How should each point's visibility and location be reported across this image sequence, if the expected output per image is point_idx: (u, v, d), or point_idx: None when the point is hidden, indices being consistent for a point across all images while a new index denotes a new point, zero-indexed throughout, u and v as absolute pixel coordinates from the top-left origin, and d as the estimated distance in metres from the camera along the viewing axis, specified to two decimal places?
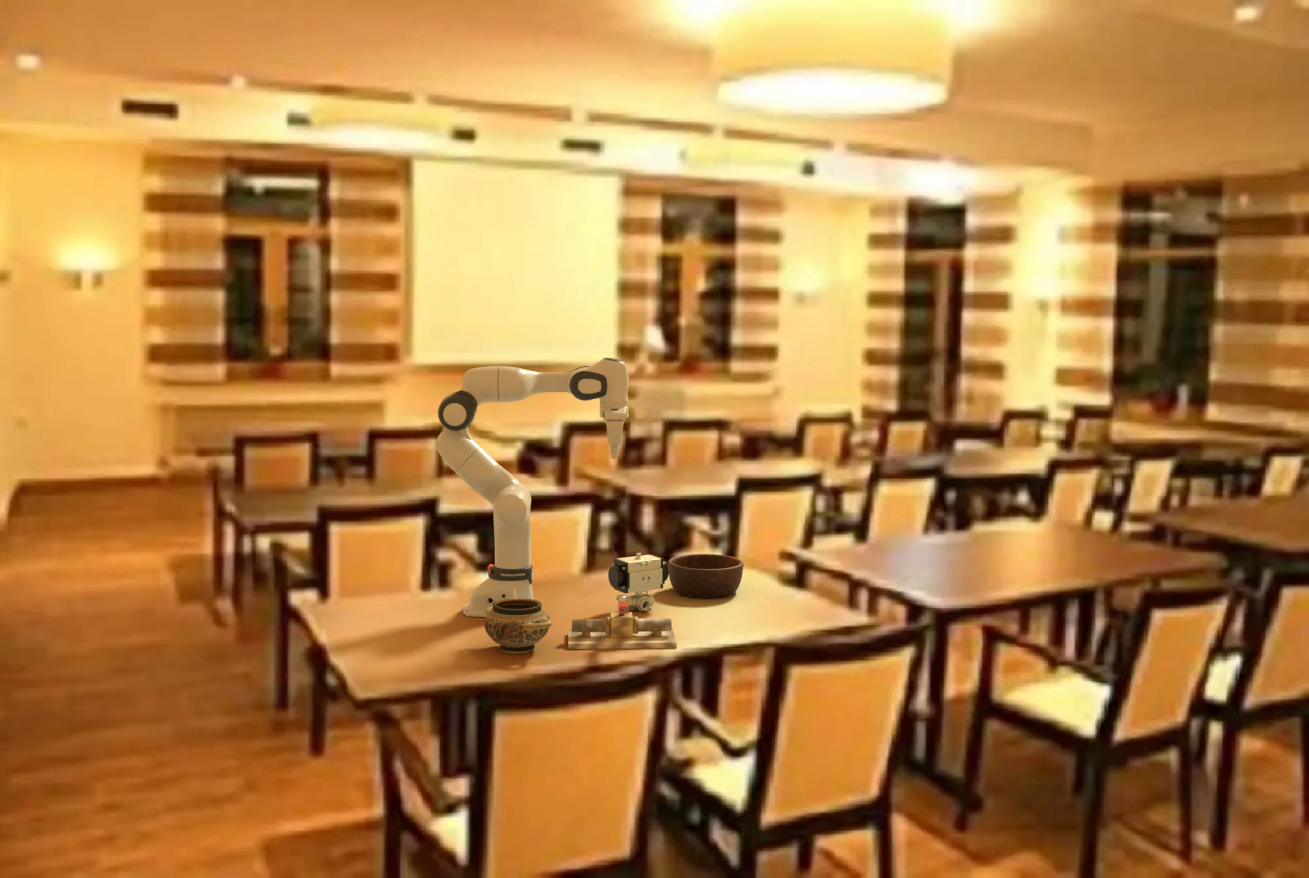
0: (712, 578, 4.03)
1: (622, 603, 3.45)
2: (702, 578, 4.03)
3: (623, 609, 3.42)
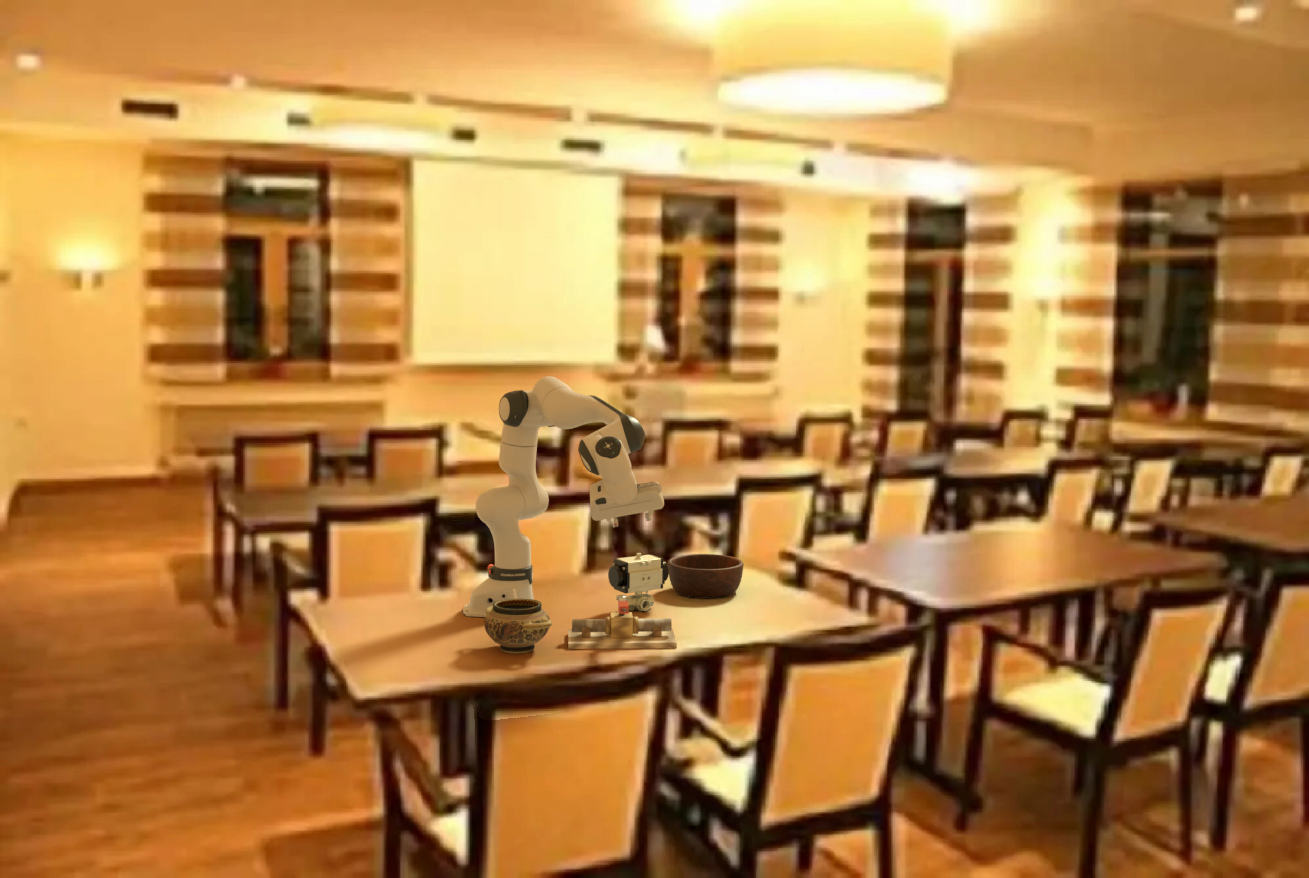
0: (712, 578, 4.03)
1: (622, 603, 3.45)
2: (702, 578, 4.03)
3: (623, 609, 3.42)
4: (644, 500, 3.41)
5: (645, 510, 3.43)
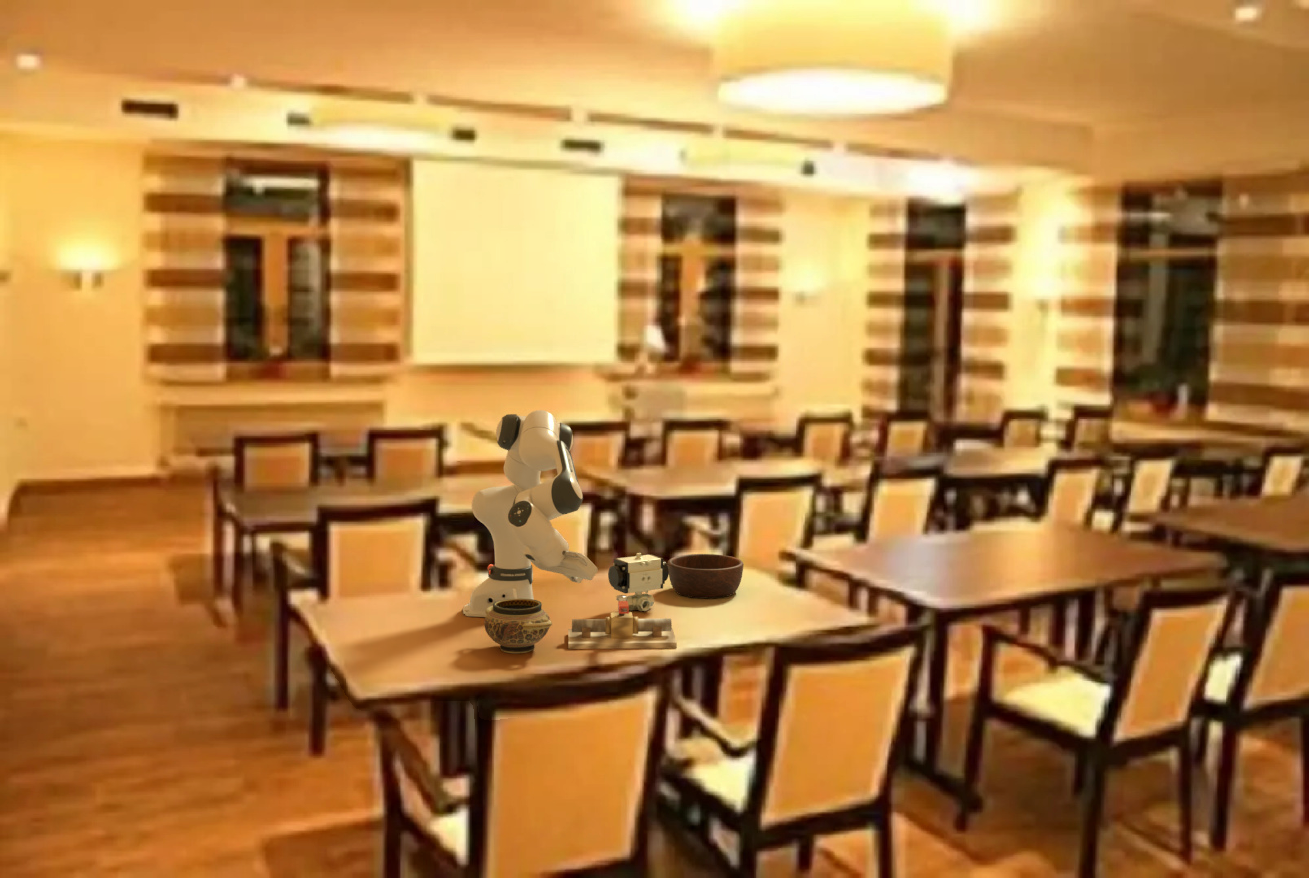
0: (712, 578, 4.03)
1: (622, 603, 3.45)
2: (702, 578, 4.03)
3: (623, 609, 3.42)
4: (572, 568, 3.24)
5: (577, 576, 3.26)
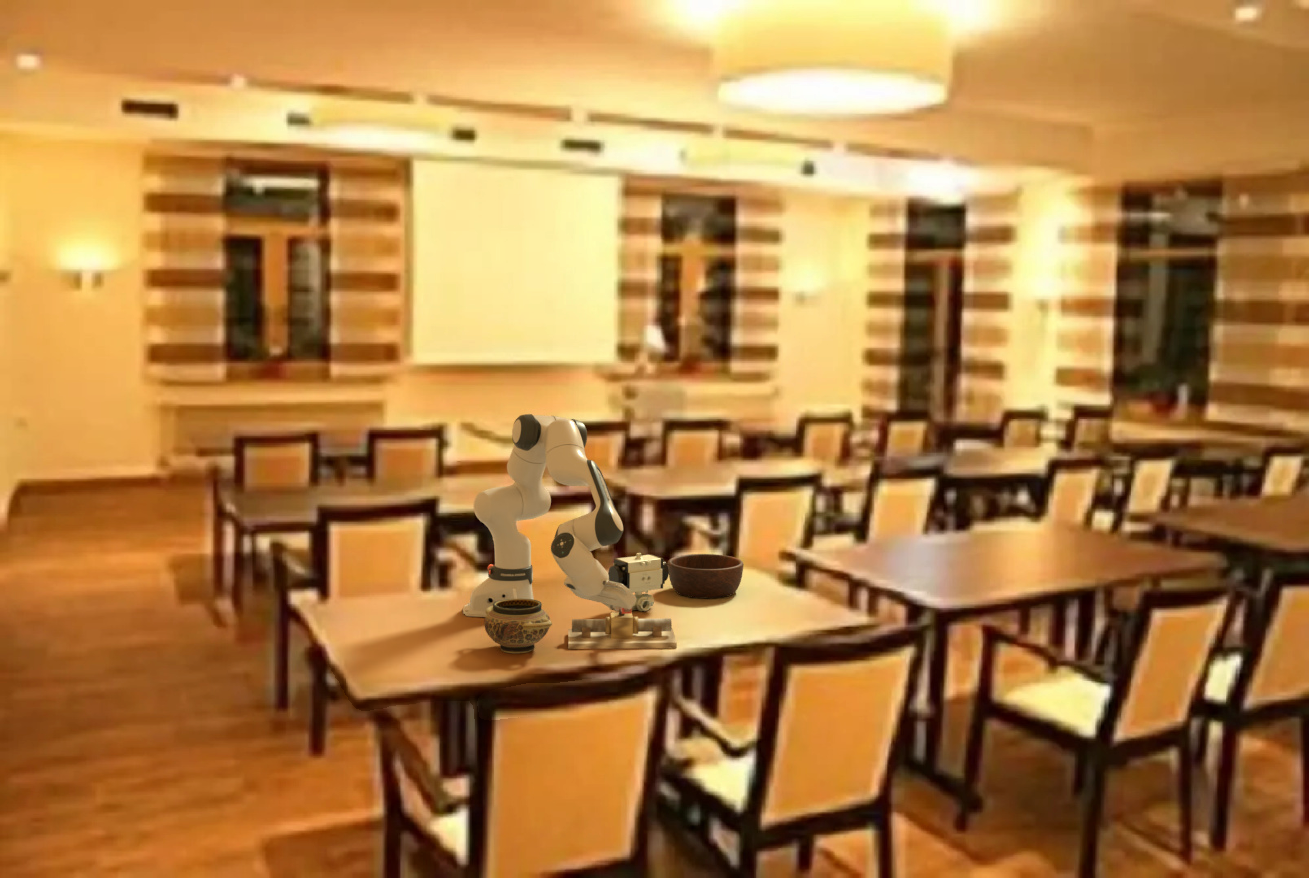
0: (712, 578, 4.03)
1: None
2: (702, 578, 4.03)
3: (626, 609, 3.42)
4: (612, 597, 3.34)
5: (616, 605, 3.37)
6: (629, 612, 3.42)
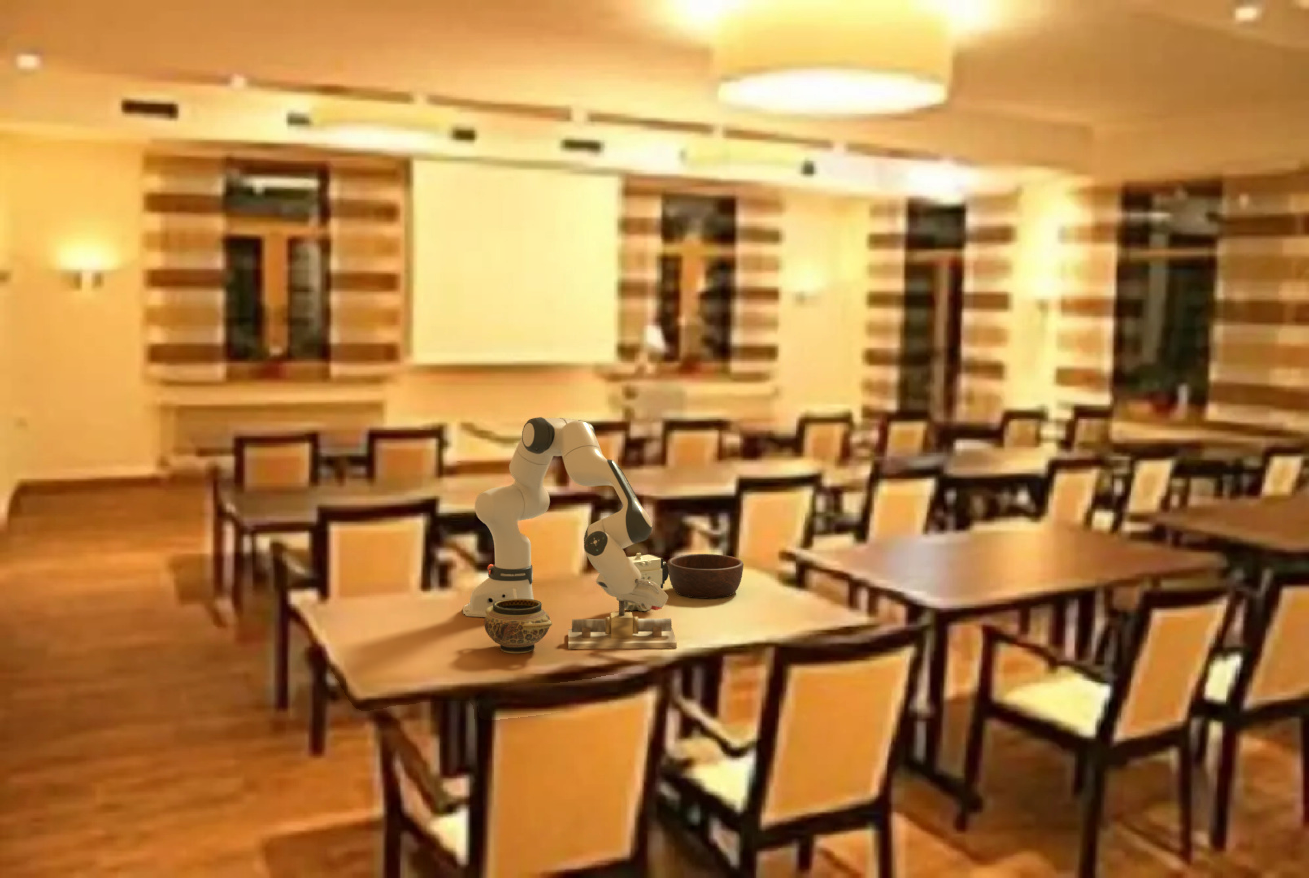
0: (712, 578, 4.03)
1: None
2: (702, 578, 4.03)
3: None
4: (644, 595, 3.37)
5: (648, 603, 3.40)
6: (660, 607, 3.47)
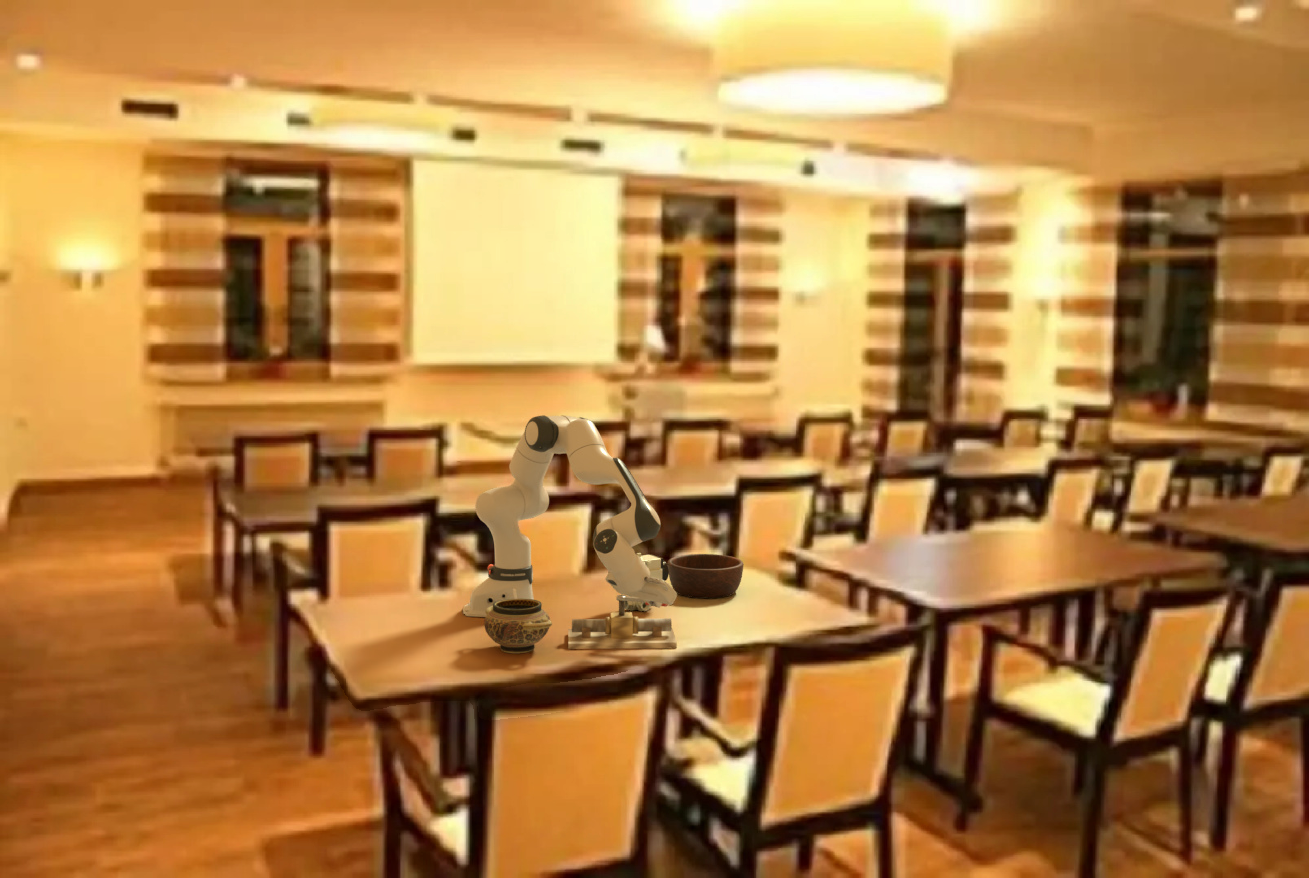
0: (712, 578, 4.03)
1: None
2: (702, 578, 4.03)
3: None
4: (653, 593, 3.40)
5: (657, 601, 3.42)
6: None
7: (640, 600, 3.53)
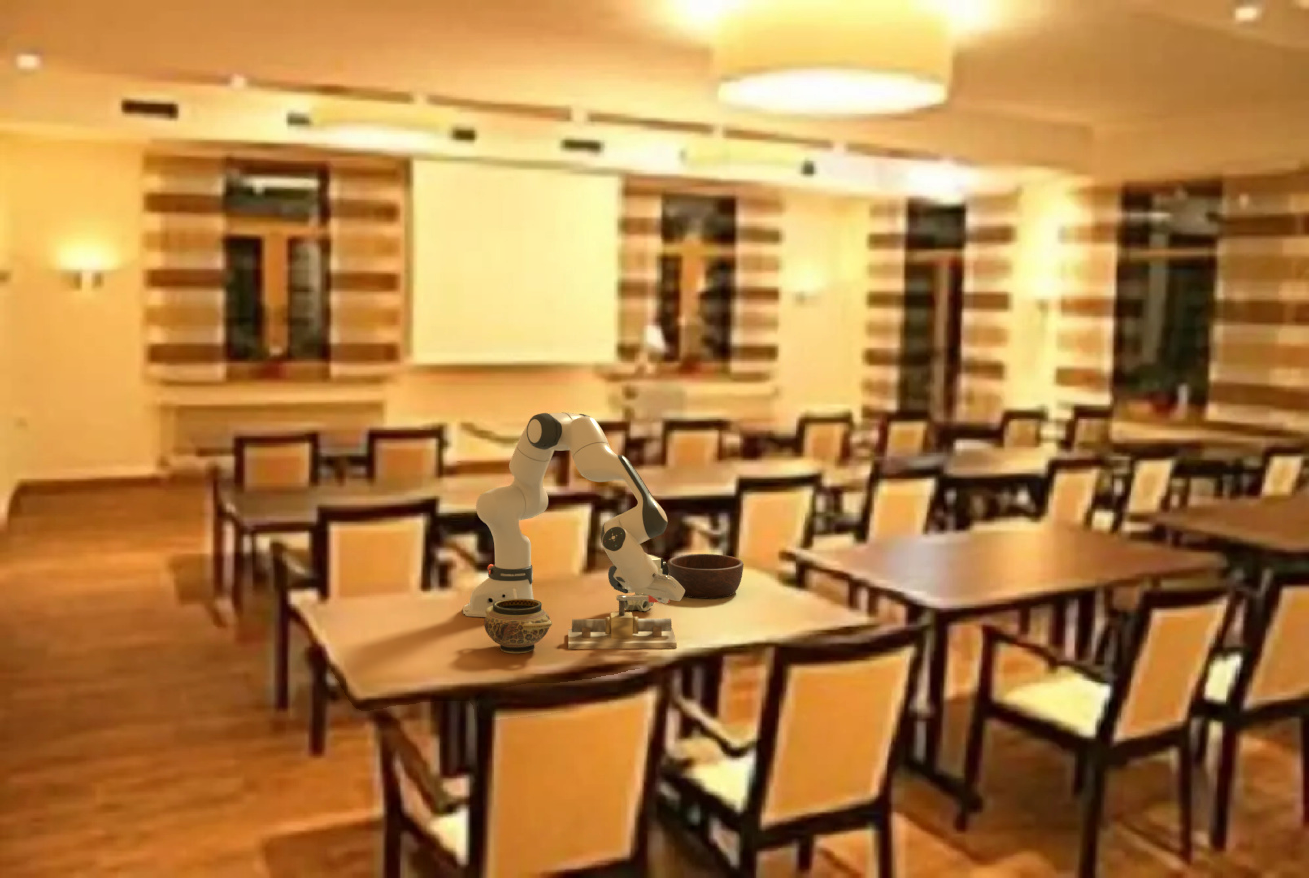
0: (712, 578, 4.03)
1: None
2: (702, 578, 4.03)
3: None
4: (661, 589, 3.43)
5: (665, 597, 3.46)
6: None
7: (642, 598, 3.55)
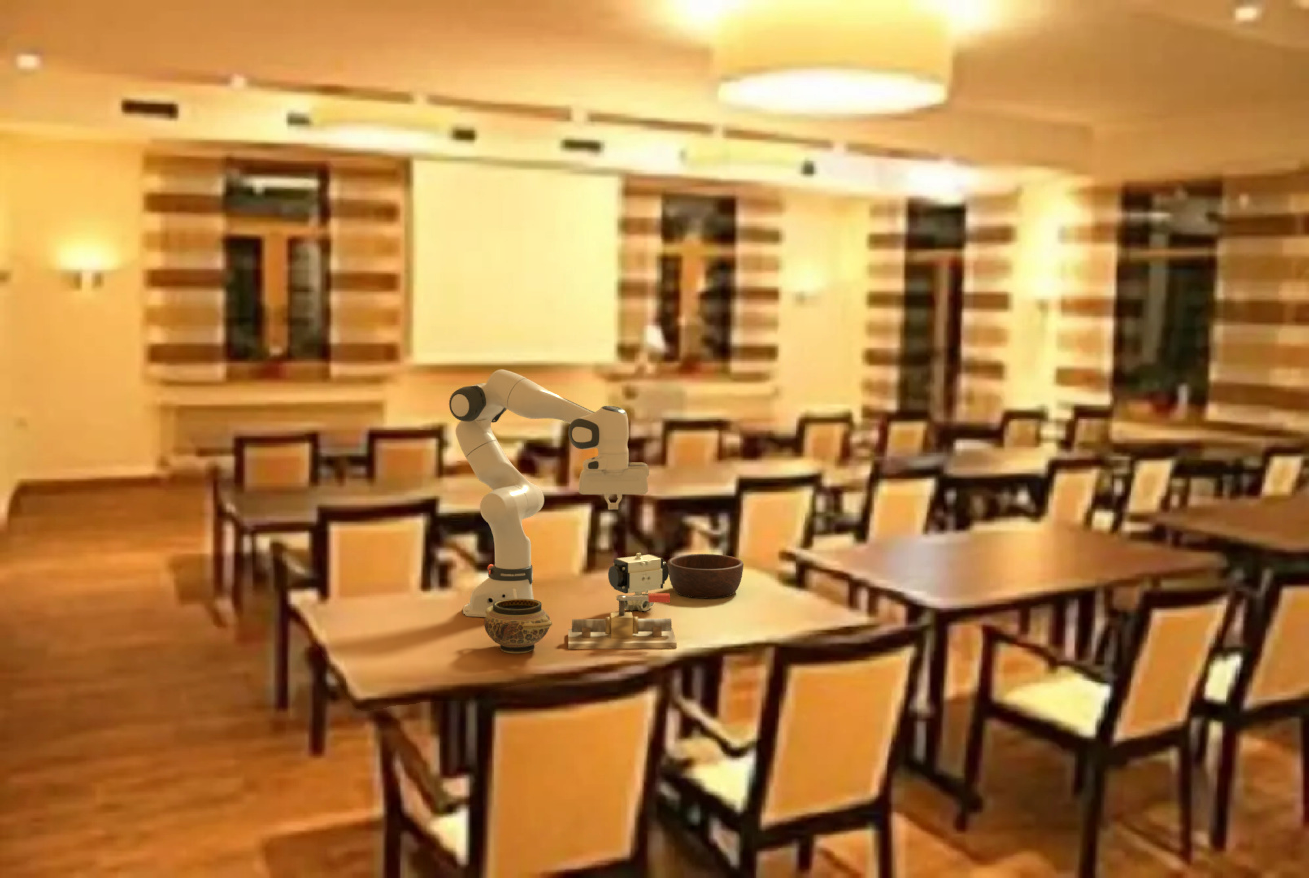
0: (712, 578, 4.03)
1: (658, 594, 3.56)
2: (702, 578, 4.03)
3: None
4: (631, 479, 3.65)
5: (629, 491, 3.65)
6: None
7: (642, 598, 3.55)
